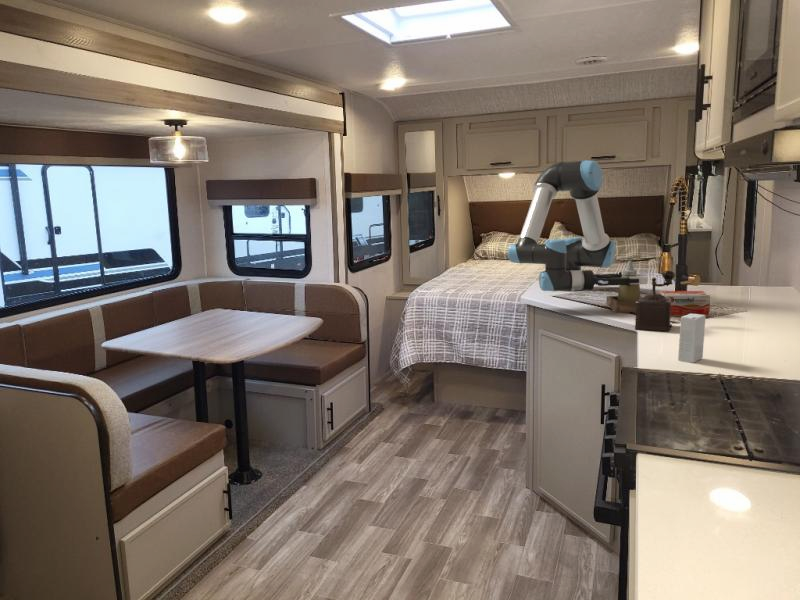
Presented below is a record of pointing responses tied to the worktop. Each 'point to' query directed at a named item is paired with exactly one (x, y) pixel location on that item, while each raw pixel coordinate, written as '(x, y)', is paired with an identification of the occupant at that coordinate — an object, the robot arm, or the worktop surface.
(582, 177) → the robot arm
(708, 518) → the worktop surface
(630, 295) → the squeeze bottle
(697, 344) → the skincare box
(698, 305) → the medicine box
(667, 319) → the manual coffee grinder
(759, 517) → the worktop surface
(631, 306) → the walnut well
